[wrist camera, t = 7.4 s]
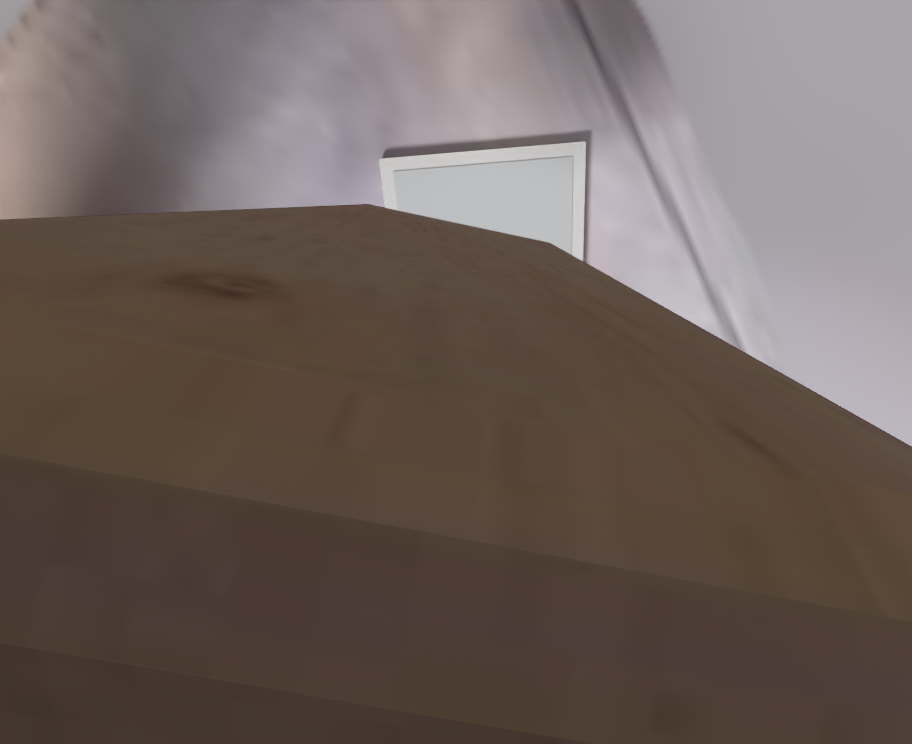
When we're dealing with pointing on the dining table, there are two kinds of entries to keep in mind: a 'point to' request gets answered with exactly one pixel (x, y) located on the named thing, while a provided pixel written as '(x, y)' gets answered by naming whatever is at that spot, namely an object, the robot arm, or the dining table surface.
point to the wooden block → (420, 499)
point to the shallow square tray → (497, 190)
